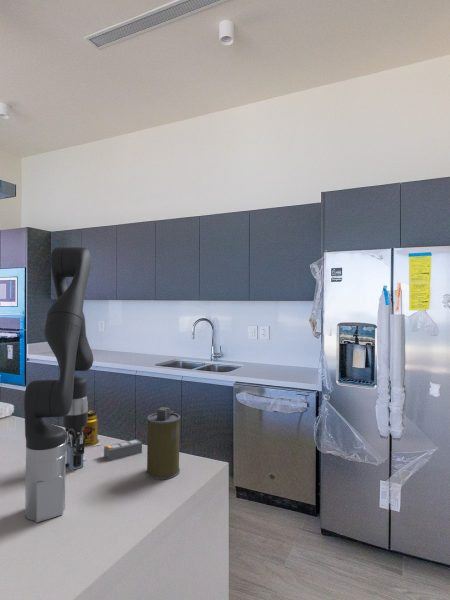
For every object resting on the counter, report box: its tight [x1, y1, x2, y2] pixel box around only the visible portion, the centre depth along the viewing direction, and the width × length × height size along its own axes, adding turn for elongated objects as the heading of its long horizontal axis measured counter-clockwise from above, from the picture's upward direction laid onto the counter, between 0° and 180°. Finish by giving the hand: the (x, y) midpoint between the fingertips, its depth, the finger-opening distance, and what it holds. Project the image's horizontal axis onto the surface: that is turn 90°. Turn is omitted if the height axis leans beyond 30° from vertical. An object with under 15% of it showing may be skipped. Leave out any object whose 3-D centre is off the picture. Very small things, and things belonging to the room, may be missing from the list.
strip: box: [103, 439, 143, 462], centre depth 133 cm, size 4×12×4 cm, turn 128°
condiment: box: [82, 409, 102, 448], centre depth 144 cm, size 7×8×12 cm
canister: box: [145, 406, 181, 480], centre depth 120 cm, size 11×10×20 cm
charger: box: [65, 443, 87, 471], centre depth 122 cm, size 4×10×7 cm, turn 128°
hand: (74, 463), depth 123 cm, fingers closed on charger, 4 cm apart
